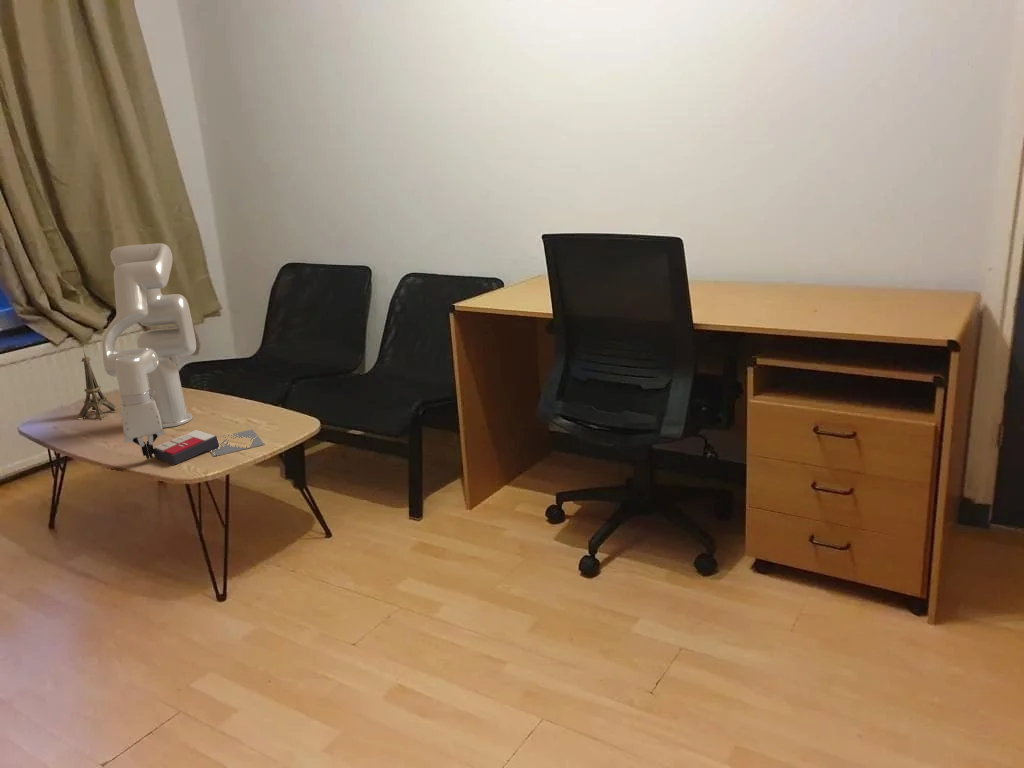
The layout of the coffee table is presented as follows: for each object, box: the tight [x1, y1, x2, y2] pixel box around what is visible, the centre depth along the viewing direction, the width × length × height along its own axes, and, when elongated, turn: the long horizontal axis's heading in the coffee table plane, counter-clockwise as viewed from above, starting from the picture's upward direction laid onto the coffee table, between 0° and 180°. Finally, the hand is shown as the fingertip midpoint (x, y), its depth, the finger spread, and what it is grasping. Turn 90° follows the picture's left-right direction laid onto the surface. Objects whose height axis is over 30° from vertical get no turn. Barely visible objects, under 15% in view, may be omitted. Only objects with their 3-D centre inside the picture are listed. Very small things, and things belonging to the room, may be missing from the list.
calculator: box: [153, 429, 219, 466], centre depth 240 cm, size 11×4×15 cm
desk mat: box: [210, 429, 265, 458], centre depth 246 cm, size 16×15×1 cm
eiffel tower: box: [76, 347, 119, 420], centre depth 278 cm, size 11×11×25 cm
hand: (149, 456), depth 236 cm, fingers closed
